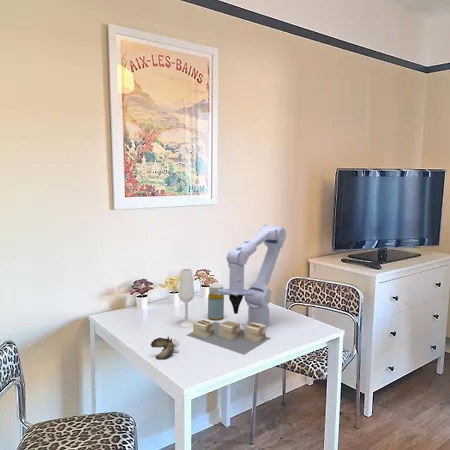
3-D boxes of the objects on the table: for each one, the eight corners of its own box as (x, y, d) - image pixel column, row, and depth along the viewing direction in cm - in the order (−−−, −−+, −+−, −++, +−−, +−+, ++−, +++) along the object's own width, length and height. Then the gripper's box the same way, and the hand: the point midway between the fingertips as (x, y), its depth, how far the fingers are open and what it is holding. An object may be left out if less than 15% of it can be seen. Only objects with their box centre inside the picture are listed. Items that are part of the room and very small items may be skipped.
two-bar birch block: (202, 330, 172) (202, 318, 172) (214, 334, 169) (214, 321, 168) (193, 334, 168) (193, 322, 167) (204, 338, 164) (204, 326, 163)
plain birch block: (227, 332, 171) (227, 320, 170) (239, 335, 167) (239, 323, 167) (218, 336, 166) (218, 324, 166) (230, 340, 163) (231, 328, 162)
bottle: (225, 320, 185) (226, 287, 183) (211, 322, 183) (211, 288, 181) (220, 315, 192) (220, 283, 190) (205, 316, 189) (206, 284, 187)
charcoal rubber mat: (215, 322, 182) (215, 321, 182) (271, 339, 166) (271, 338, 166) (186, 336, 167) (186, 335, 167) (244, 355, 151) (244, 354, 151)
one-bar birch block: (252, 333, 170) (253, 321, 169) (265, 337, 166) (265, 325, 165) (244, 338, 165) (244, 326, 164) (257, 342, 161) (257, 329, 161)
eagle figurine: (162, 343, 157) (146, 348, 149) (172, 330, 155) (156, 333, 147) (174, 359, 154) (158, 364, 146) (184, 345, 152) (169, 349, 144)
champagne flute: (175, 325, 178) (175, 270, 174) (184, 320, 184) (184, 267, 180) (188, 328, 175) (188, 272, 171) (197, 323, 181) (197, 269, 177)
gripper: (216, 281, 163) (216, 315, 164) (254, 283, 161) (253, 317, 162) (219, 276, 170) (219, 309, 171) (255, 278, 168) (254, 311, 169)
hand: (236, 313), depth 167 cm, fingers closed
